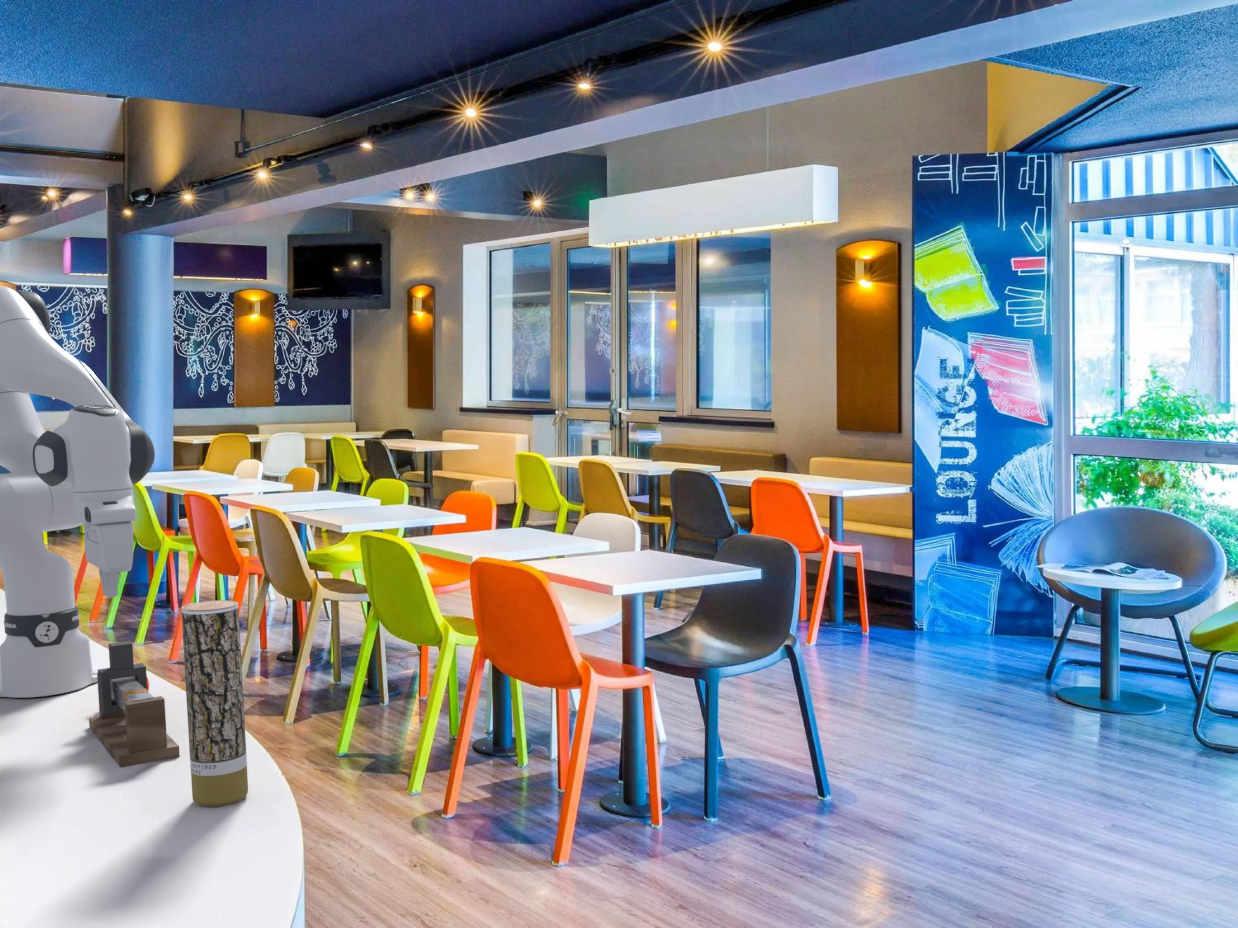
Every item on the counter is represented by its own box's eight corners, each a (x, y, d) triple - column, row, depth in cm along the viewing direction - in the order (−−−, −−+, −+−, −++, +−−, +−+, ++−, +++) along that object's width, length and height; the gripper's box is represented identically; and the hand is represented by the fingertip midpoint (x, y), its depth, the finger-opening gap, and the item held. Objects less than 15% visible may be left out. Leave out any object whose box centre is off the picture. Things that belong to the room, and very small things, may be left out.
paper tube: (231, 809, 149) (220, 610, 147) (181, 807, 150) (170, 610, 149) (258, 791, 156) (248, 600, 154) (210, 789, 157) (200, 600, 155)
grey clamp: (100, 710, 184) (96, 644, 183) (144, 703, 187) (140, 638, 186) (103, 714, 181) (99, 648, 181) (148, 707, 185) (144, 642, 184)
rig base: (89, 727, 189) (86, 673, 188) (143, 718, 193) (140, 665, 192) (120, 767, 168) (116, 707, 167) (179, 756, 172) (176, 697, 171)
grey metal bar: (105, 692, 188) (104, 672, 188) (126, 689, 190) (125, 669, 190) (134, 723, 170) (132, 701, 170) (157, 719, 171) (155, 698, 171)
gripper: (71, 506, 195) (78, 590, 196) (93, 514, 178) (100, 606, 179) (113, 503, 198) (119, 586, 199) (138, 510, 181) (144, 600, 182)
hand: (110, 595), depth 189 cm, fingers closed
